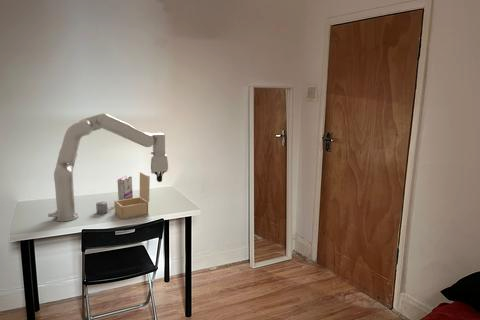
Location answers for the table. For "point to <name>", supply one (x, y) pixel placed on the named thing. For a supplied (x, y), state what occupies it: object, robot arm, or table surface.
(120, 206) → the cardboard box
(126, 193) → the candy bar box
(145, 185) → the box lid
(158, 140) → the robot arm
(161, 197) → the table surface
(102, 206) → the grey rounded blob
